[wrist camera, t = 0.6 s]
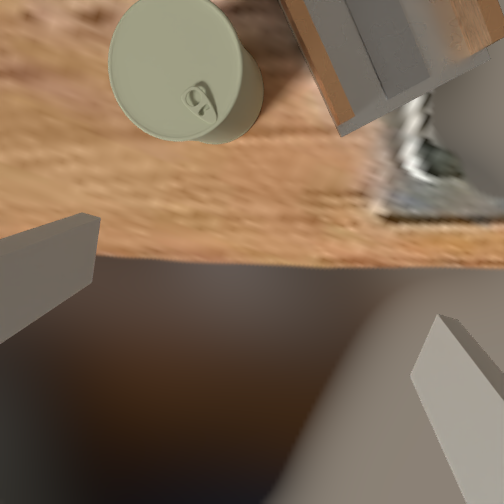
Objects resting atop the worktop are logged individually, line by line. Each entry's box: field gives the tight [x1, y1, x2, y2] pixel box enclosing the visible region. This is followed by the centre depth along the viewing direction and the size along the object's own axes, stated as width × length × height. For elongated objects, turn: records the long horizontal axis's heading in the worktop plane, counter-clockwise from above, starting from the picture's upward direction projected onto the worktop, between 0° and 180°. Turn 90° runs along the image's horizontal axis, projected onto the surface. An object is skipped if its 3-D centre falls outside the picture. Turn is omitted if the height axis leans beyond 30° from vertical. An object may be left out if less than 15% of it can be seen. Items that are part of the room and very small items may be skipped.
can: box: [108, 0, 264, 144], centre depth 31 cm, size 9×9×12 cm
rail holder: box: [278, 0, 504, 137], centre depth 31 cm, size 16×13×5 cm
